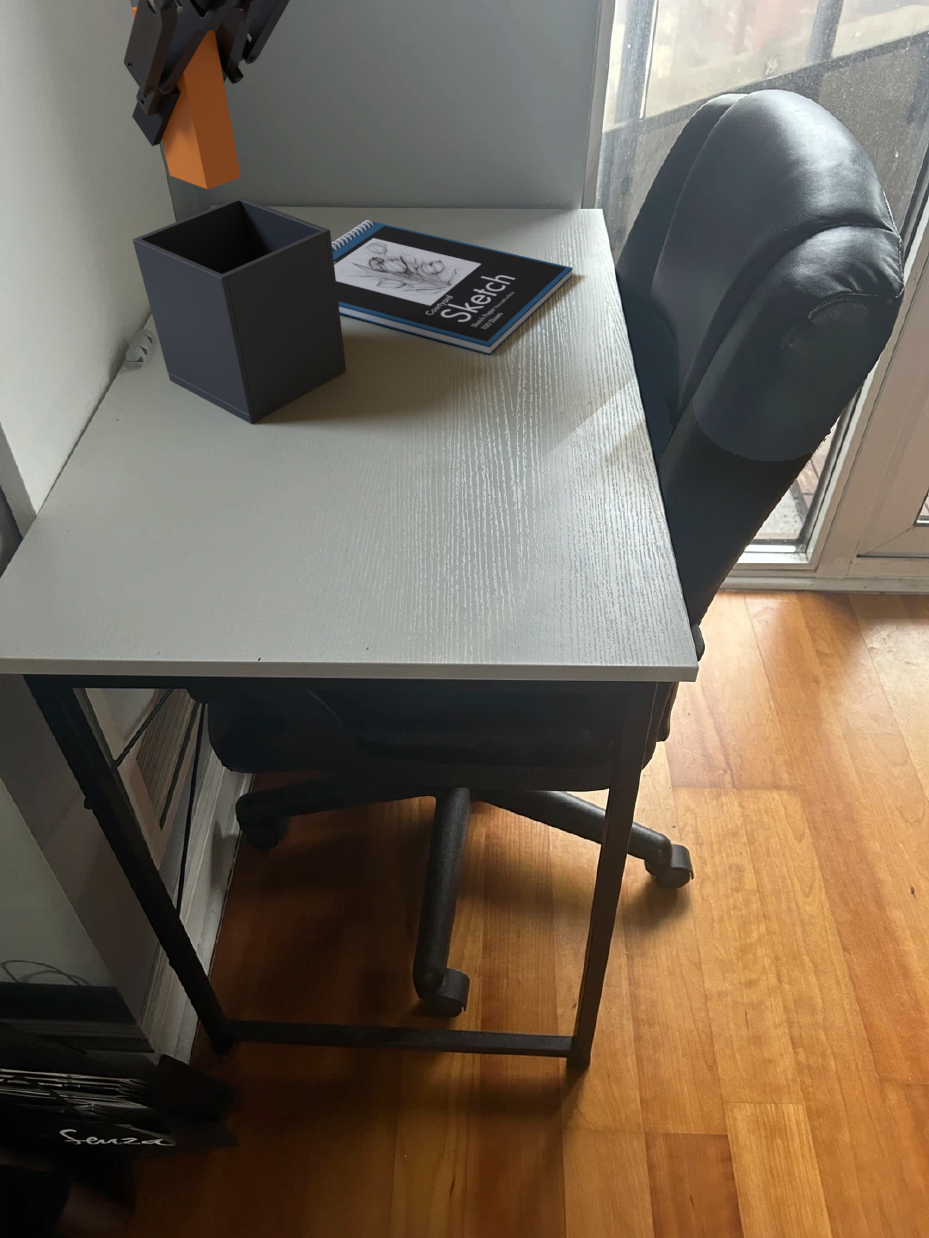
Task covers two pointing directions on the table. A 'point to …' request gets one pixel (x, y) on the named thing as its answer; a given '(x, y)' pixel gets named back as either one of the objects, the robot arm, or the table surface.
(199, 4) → the robot arm
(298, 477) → the table surface
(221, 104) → the block
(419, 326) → the sketchbook
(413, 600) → the table surface
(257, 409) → the bin
